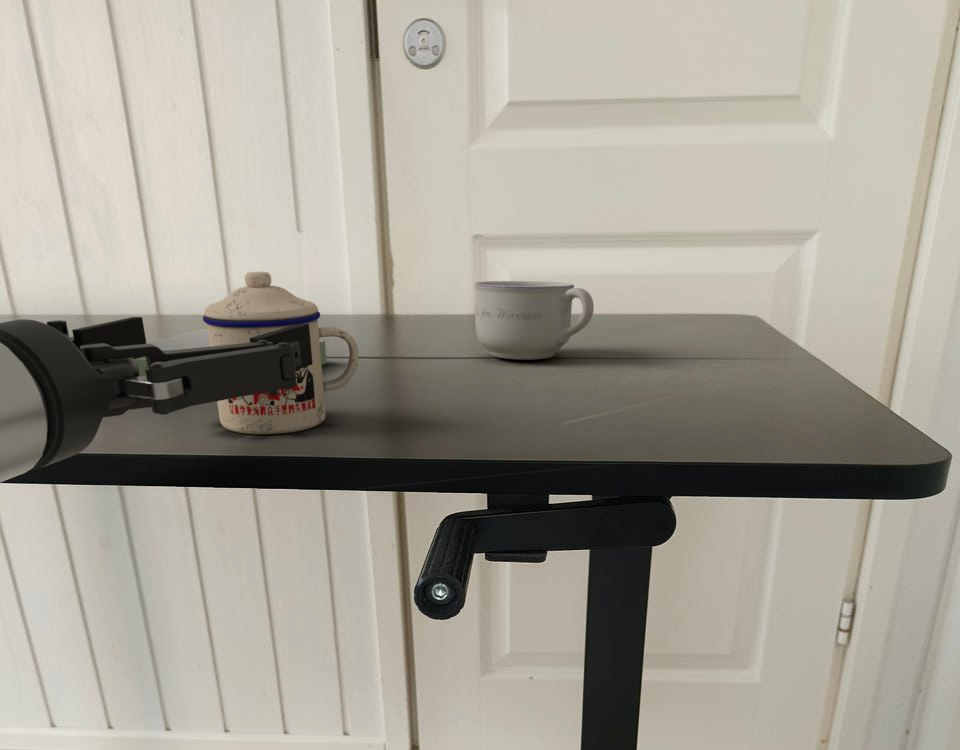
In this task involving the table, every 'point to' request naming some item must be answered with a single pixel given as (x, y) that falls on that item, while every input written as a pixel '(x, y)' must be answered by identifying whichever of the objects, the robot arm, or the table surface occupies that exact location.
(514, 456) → the table surface
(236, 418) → the teacup with lid
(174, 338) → the scale
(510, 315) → the teacup
